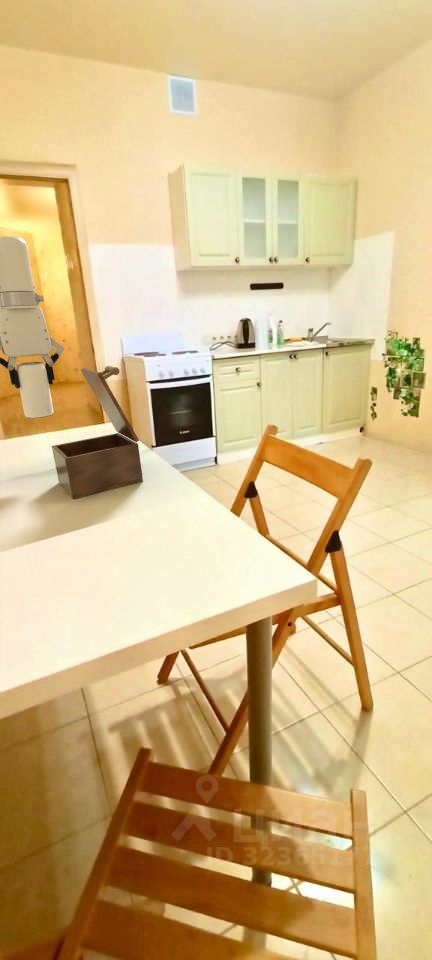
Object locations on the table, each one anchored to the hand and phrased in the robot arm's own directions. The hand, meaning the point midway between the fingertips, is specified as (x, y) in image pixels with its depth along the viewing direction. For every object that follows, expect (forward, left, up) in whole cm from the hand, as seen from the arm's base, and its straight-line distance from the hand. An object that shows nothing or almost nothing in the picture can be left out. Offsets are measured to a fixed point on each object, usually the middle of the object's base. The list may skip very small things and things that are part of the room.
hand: (34, 385), depth 102 cm
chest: (+7, -15, -21) cm, 27 cm away
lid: (+12, -15, -5) cm, 20 cm away
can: (0, 0, -7) cm, 7 cm away
